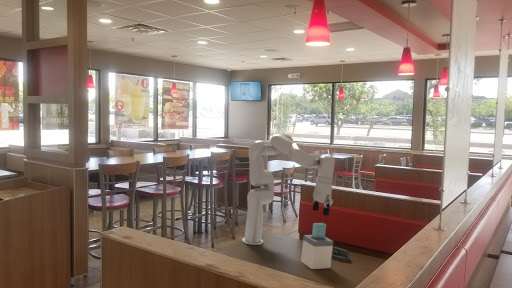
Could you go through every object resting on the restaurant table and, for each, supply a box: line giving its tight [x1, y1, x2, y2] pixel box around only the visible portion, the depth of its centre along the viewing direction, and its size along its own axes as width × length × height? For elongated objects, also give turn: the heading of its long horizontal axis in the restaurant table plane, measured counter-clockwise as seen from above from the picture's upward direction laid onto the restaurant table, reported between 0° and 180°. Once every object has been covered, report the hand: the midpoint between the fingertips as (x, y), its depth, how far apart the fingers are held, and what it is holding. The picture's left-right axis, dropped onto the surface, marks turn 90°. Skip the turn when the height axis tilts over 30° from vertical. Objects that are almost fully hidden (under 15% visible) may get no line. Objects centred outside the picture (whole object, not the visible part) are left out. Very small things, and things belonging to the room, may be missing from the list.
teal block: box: [311, 222, 327, 240], centre depth 205 cm, size 3×6×10 cm, turn 115°
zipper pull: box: [331, 246, 350, 263], centre depth 225 cm, size 9×7×25 cm
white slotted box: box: [300, 234, 334, 270], centre depth 205 cm, size 11×11×14 cm
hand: (320, 212), depth 204 cm, fingers open, 9 cm apart
